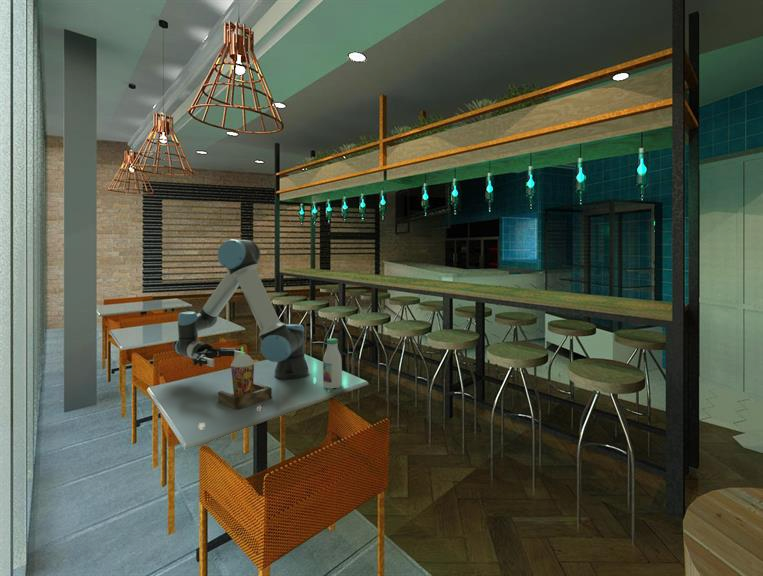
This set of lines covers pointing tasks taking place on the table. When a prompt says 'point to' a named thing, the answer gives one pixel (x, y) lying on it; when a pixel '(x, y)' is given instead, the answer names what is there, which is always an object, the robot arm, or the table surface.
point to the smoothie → (242, 374)
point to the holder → (246, 397)
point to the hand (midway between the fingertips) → (229, 359)
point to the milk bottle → (332, 365)
